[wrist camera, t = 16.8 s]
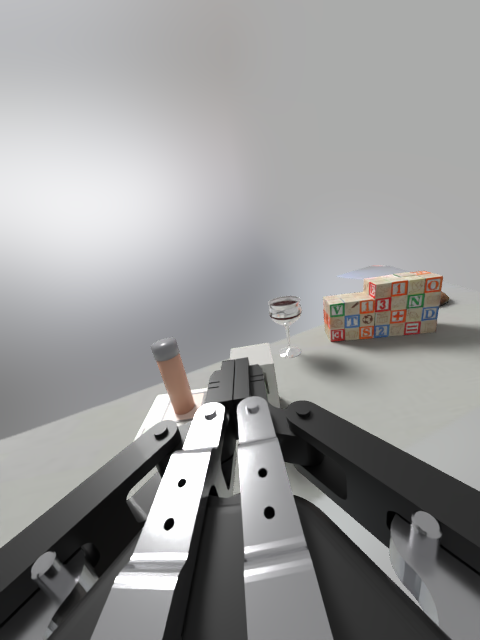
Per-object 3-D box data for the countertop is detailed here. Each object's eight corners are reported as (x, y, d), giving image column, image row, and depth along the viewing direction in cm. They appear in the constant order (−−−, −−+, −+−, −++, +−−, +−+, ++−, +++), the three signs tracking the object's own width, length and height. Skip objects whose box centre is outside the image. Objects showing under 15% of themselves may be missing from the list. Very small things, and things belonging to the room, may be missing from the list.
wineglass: (306, 344, 53) (302, 295, 49) (303, 360, 47) (298, 305, 43) (278, 344, 56) (271, 297, 51) (271, 359, 50) (264, 307, 46)
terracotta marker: (170, 416, 38) (146, 351, 33) (176, 400, 41) (155, 339, 37) (193, 413, 38) (171, 347, 33) (197, 397, 41) (178, 336, 37)
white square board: (130, 453, 33) (128, 450, 33) (158, 397, 44) (157, 394, 44) (203, 443, 32) (202, 440, 32) (213, 389, 44) (212, 386, 43)
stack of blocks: (330, 343, 52) (328, 290, 48) (324, 331, 58) (321, 284, 53) (436, 332, 48) (444, 274, 44) (418, 321, 54) (424, 269, 50)
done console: (242, 426, 34) (228, 370, 30) (241, 399, 39) (230, 348, 36) (282, 421, 33) (273, 363, 30) (276, 394, 39) (268, 342, 36)
